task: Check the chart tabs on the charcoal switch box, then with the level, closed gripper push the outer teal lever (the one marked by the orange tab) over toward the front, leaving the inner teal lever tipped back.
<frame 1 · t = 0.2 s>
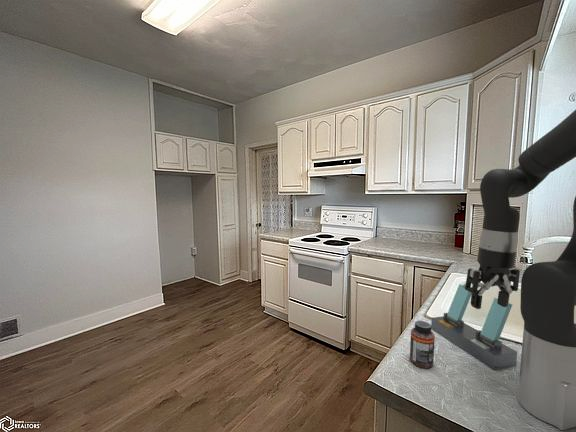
hand: (489, 306, 68), 18 cm above the table, tool pointing down, fingers open, 8 cm apart
outer lever: (459, 303, 87), point 11 cm above the table, hinge at 22.0°
inner lever: (495, 319, 75), point 11 cm above the table, hinge at 22.0°
supplement bottle: (421, 362, 73), on the table
switch box: (468, 344, 81), on the table
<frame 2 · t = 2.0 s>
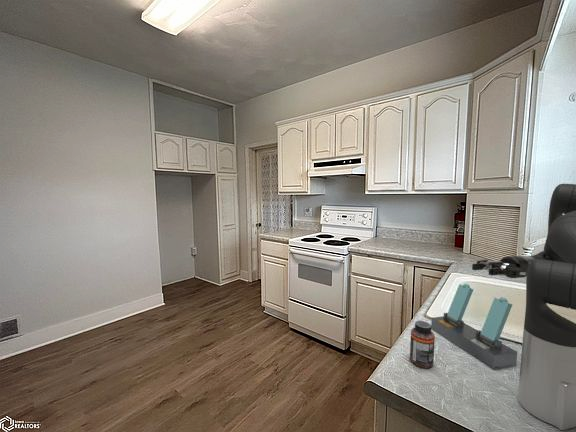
hand: (481, 269, 88), 22 cm above the table, tool horizontal, fingers open, 5 cm apart
nothing on the table moved.
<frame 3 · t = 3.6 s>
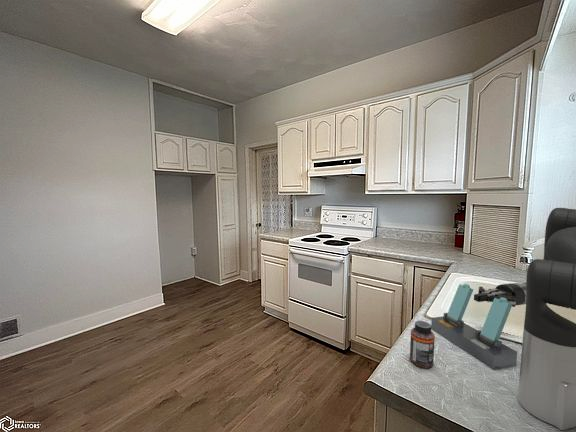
hand: (476, 298, 88), 12 cm above the table, tool horizontal, fingers closed
nothing on the table moved.
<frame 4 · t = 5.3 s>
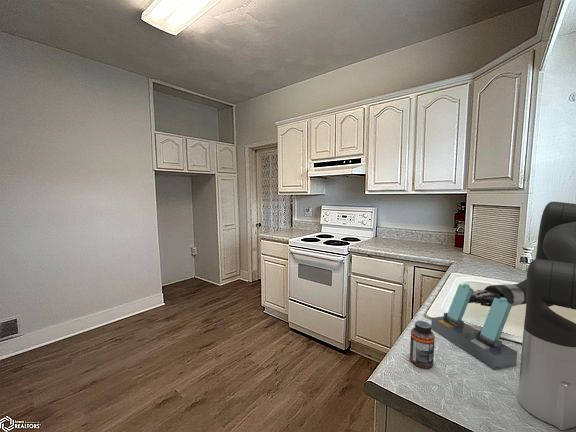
hand: (463, 299, 87), 12 cm above the table, tool horizontal, fingers closed
outer lever: (459, 303, 87), point 11 cm above the table, hinge at 21.7°, touching gripper
everything else where it was.
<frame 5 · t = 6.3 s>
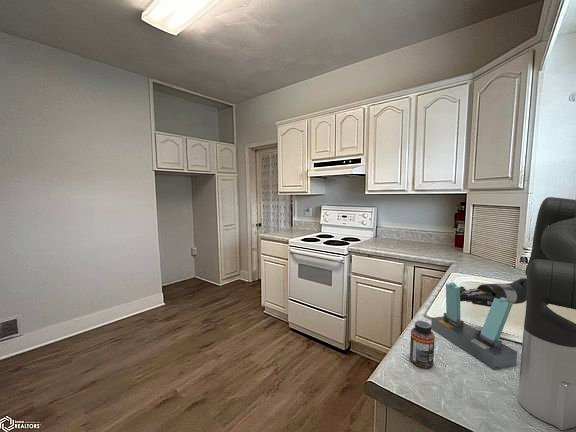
hand: (455, 297, 86), 13 cm above the table, tool horizontal, fingers closed
outer lever: (453, 302, 86), point 11 cm above the table, hinge at -5.4°, touching gripper
everything else where it was.
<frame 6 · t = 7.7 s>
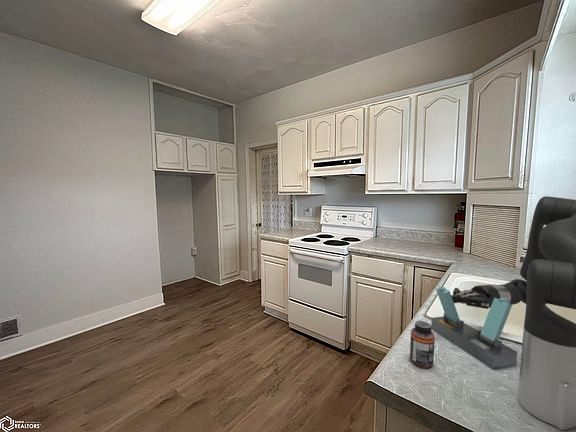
hand: (449, 299, 86), 13 cm above the table, tool horizontal, fingers closed
outer lever: (447, 304, 86), point 11 cm above the table, hinge at -25.3°, touching gripper
everything else where it was.
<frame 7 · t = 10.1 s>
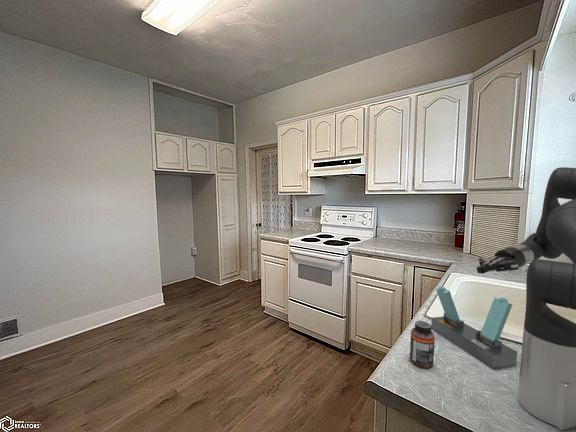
hand: (479, 270, 87), 22 cm above the table, tool horizontal, fingers closed
outer lever: (447, 304, 86), point 11 cm above the table, hinge at -25.3°
everything else where it was.
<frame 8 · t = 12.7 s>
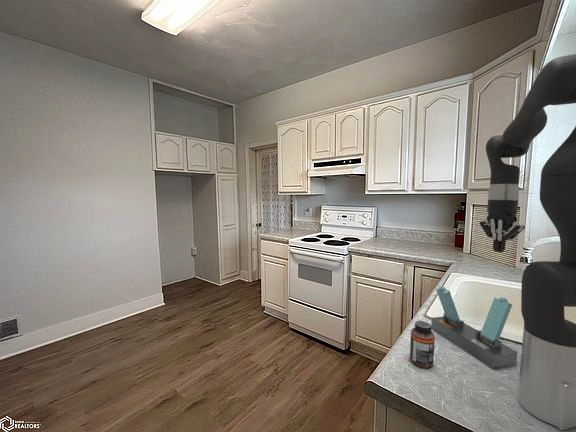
hand: (498, 251, 84), 29 cm above the table, tool pointing down, fingers closed
nothing on the table moved.
at the end: outer lever at -25° (first picture: +22°); inner lever at +22° (first picture: +22°) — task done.
